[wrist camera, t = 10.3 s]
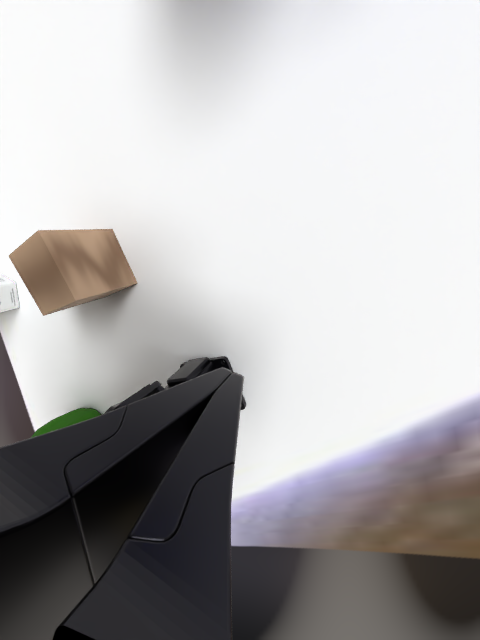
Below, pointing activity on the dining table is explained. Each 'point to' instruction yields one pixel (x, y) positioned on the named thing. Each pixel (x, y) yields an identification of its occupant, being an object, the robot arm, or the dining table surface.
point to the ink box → (8, 294)
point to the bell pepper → (67, 420)
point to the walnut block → (71, 267)
